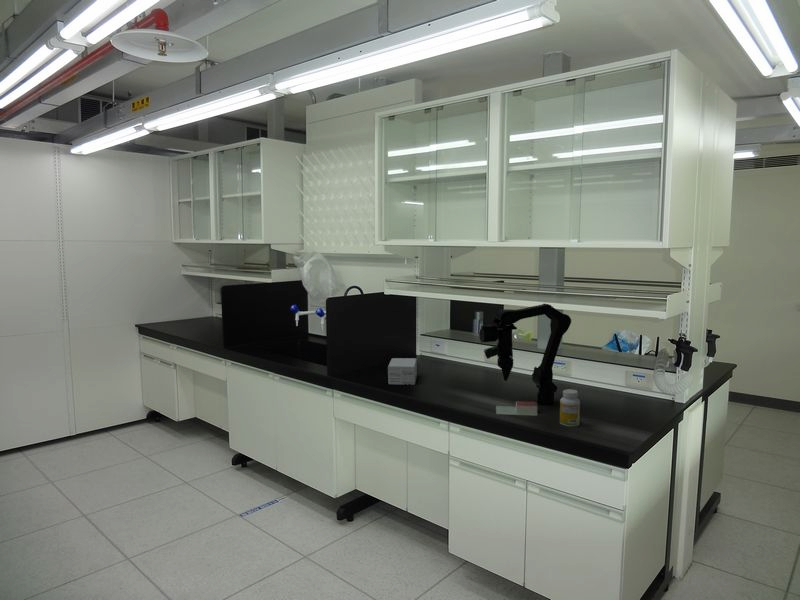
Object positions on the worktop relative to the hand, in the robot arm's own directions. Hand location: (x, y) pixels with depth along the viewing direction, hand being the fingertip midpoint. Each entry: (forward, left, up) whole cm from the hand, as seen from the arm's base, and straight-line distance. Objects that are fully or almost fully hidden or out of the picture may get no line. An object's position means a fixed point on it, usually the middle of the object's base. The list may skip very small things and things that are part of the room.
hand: (505, 377), depth 219 cm
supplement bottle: (-23, +17, -13) cm, 32 cm away
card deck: (-8, +5, -12) cm, 16 cm away
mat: (-4, +5, -13) cm, 14 cm away
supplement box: (+49, -38, -13) cm, 63 cm away
